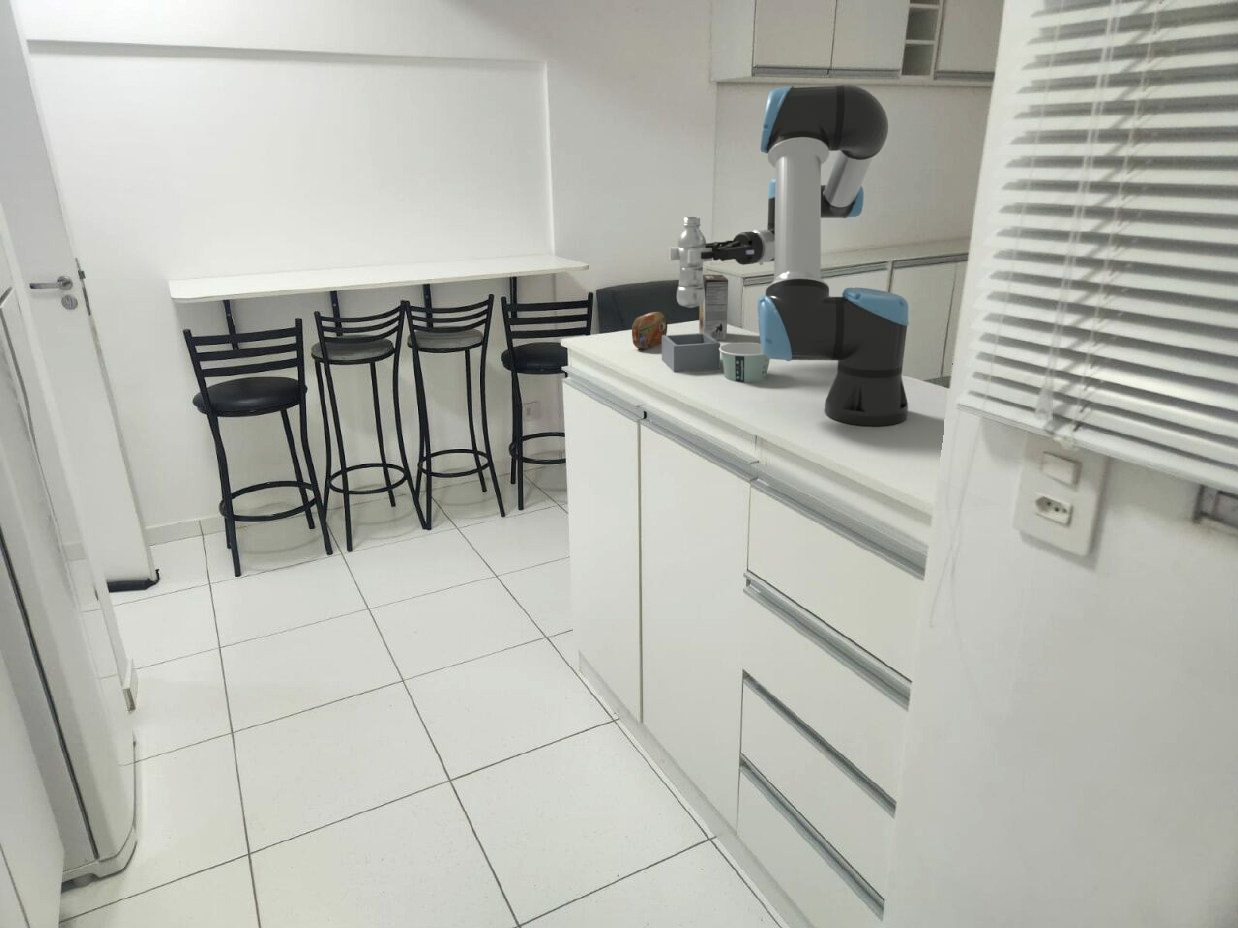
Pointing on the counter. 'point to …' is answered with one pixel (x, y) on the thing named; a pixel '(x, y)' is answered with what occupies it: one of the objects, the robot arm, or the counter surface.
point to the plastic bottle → (690, 265)
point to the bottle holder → (690, 352)
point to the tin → (649, 330)
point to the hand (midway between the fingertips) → (679, 255)
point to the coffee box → (714, 307)
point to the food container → (744, 362)
